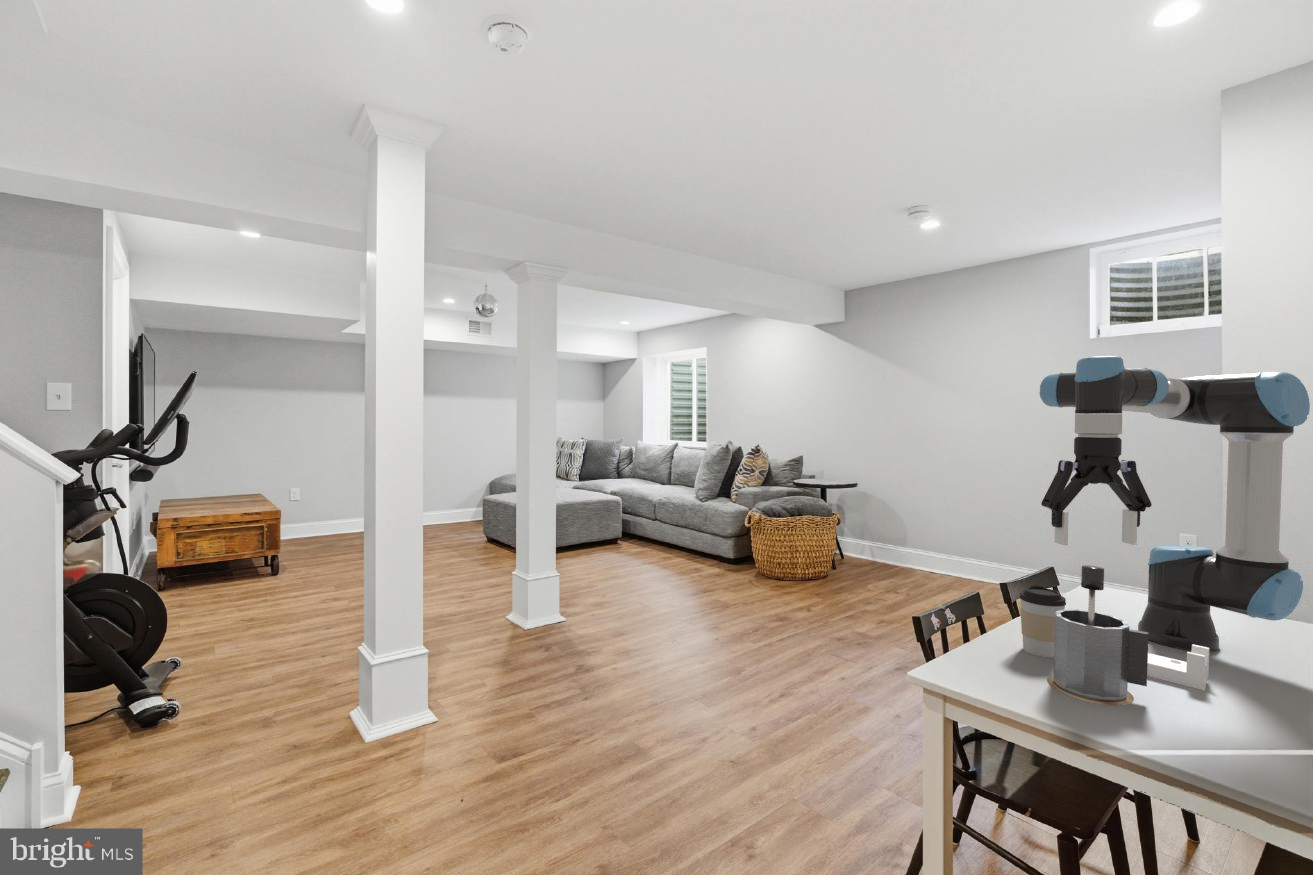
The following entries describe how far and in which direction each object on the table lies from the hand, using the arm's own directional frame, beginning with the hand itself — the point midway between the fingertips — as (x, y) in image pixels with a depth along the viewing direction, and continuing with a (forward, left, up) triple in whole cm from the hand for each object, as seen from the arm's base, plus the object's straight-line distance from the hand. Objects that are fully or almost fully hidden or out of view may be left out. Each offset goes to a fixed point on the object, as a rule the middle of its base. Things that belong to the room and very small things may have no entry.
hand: (1095, 543), depth 119 cm
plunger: (0, 0, -25) cm, 25 cm away
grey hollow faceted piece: (0, 0, -29) cm, 29 cm away
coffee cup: (-3, -19, -30) cm, 35 cm away
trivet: (0, 0, -30) cm, 30 cm away
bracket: (-21, -7, -30) cm, 37 cm away
